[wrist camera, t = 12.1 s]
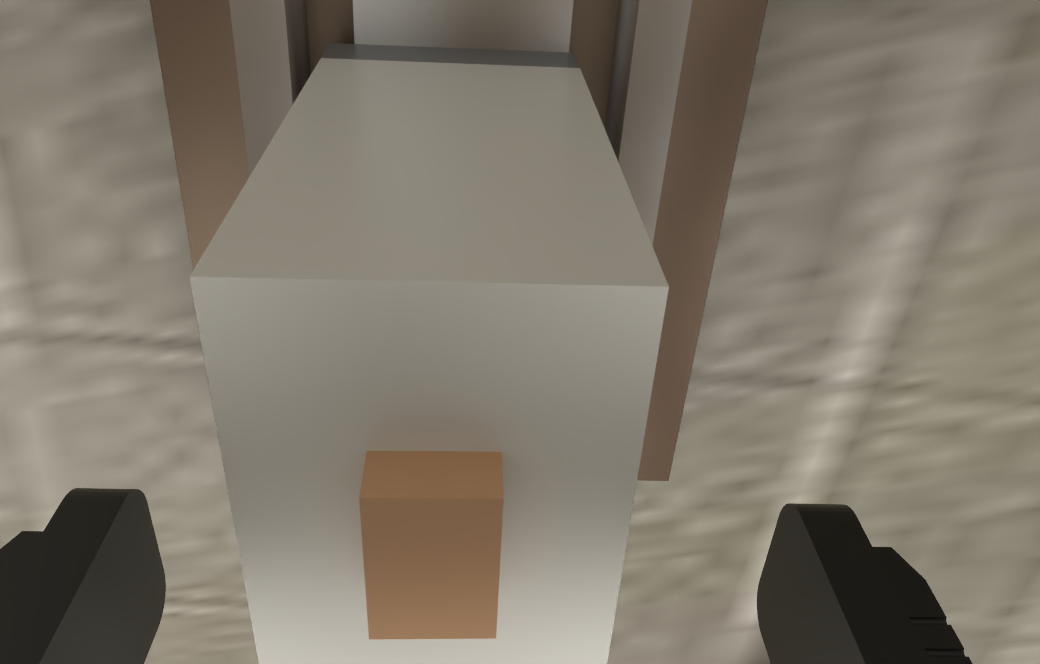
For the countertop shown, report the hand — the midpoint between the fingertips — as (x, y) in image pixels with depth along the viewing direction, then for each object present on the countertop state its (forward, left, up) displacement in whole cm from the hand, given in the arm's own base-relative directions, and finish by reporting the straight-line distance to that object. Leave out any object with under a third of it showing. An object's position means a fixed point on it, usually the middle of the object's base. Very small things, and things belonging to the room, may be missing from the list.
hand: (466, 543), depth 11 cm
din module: (0, 0, -10) cm, 10 cm away
